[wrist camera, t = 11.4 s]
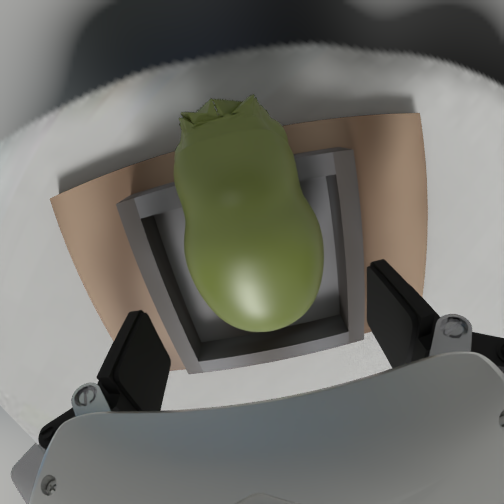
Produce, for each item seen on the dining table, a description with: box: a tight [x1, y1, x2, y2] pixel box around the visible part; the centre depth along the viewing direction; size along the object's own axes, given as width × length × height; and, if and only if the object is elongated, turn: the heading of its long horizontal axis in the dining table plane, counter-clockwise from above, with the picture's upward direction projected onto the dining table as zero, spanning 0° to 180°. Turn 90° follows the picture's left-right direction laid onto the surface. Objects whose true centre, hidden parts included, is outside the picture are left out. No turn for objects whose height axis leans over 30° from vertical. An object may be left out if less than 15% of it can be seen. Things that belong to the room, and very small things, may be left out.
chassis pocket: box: [50, 113, 428, 374], centre depth 15 cm, size 22×14×3 cm, turn 102°
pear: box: [174, 94, 324, 332], centre depth 11 cm, size 6×5×10 cm
